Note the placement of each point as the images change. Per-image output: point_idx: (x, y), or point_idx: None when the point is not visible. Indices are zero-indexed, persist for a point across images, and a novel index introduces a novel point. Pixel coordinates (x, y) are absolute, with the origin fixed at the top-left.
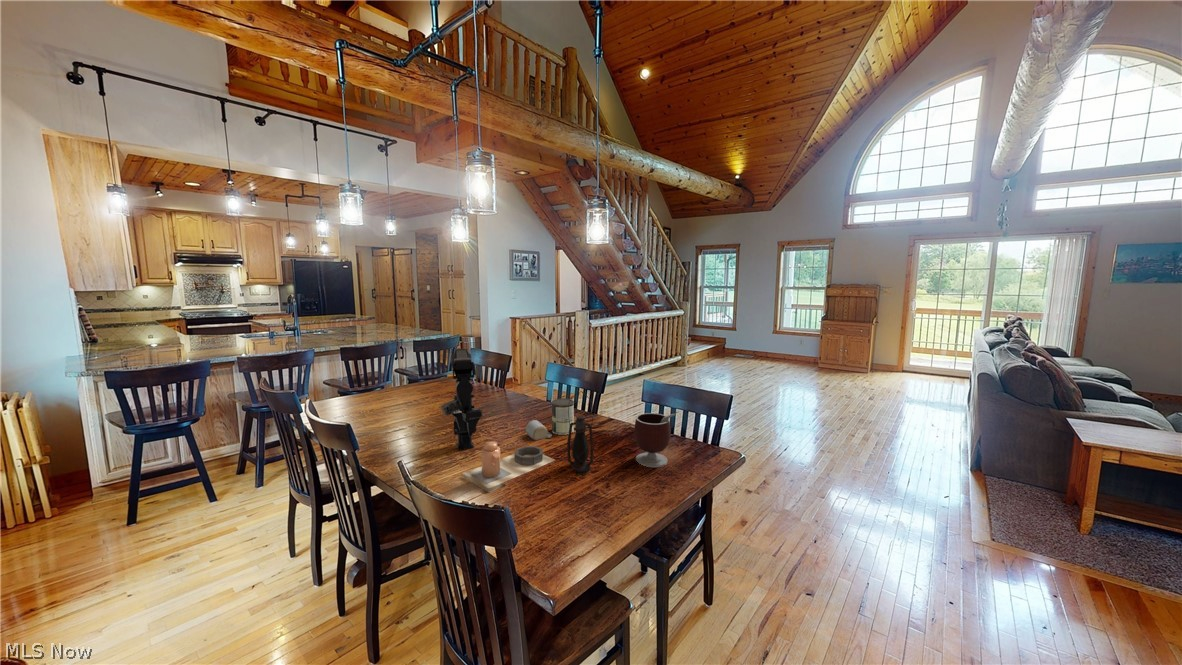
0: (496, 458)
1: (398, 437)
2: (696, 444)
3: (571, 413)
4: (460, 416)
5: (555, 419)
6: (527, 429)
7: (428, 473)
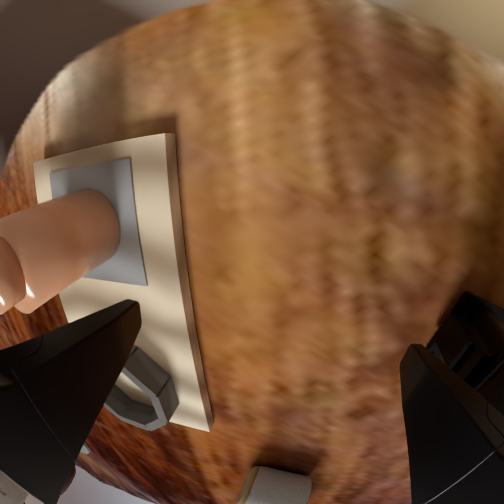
0: None
1: None
2: (97, 476)
3: None
4: (462, 499)
5: None
6: (296, 494)
7: (340, 28)
